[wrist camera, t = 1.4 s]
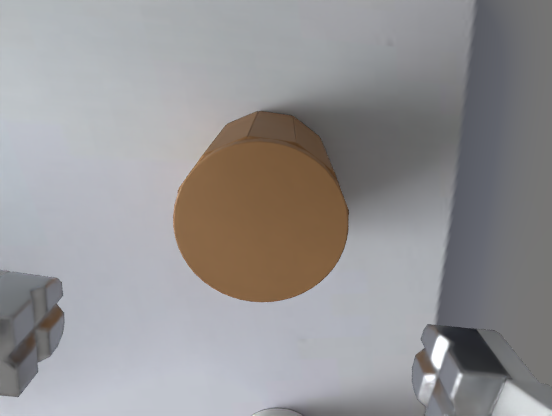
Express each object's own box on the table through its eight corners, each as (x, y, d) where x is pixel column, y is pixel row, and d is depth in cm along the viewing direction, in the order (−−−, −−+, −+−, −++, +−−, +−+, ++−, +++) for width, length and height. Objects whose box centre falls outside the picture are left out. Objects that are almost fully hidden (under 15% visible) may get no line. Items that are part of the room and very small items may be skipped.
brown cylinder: (210, 104, 18) (176, 129, 12) (340, 122, 18) (365, 154, 12) (202, 223, 20) (169, 292, 14) (318, 238, 20) (331, 312, 14)
